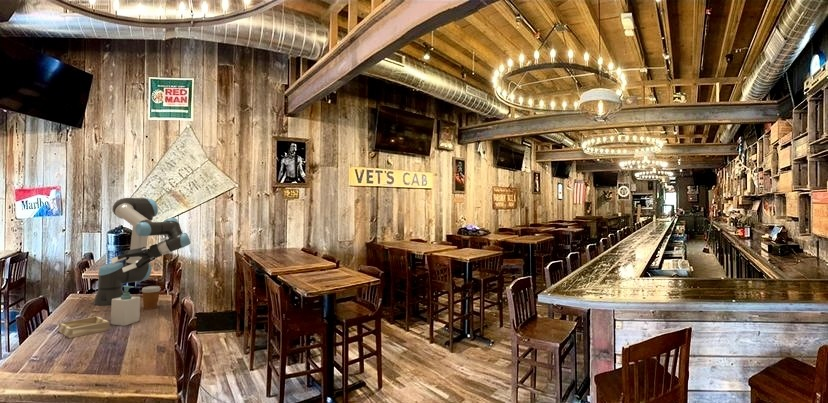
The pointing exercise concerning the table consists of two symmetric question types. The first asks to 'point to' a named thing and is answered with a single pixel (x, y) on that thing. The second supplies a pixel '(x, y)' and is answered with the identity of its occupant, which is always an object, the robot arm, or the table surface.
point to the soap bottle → (125, 308)
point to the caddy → (83, 326)
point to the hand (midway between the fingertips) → (117, 265)
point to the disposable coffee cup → (150, 296)
